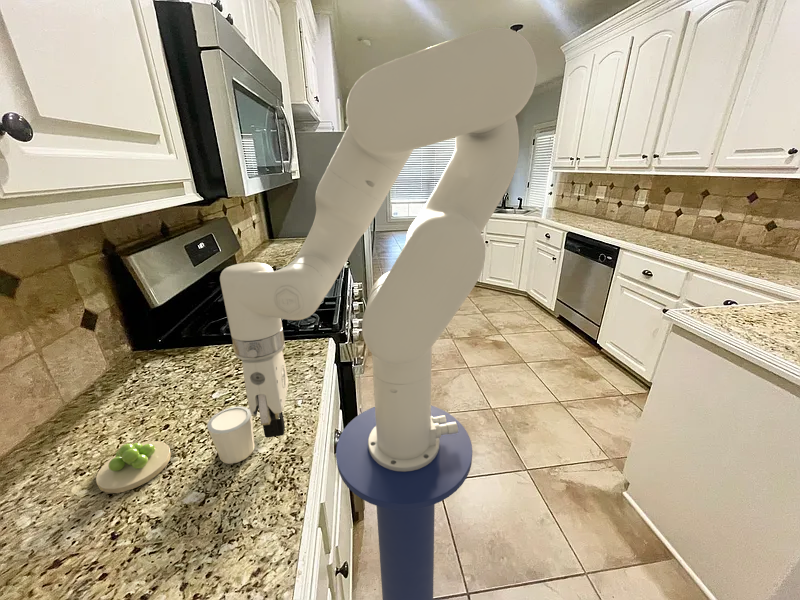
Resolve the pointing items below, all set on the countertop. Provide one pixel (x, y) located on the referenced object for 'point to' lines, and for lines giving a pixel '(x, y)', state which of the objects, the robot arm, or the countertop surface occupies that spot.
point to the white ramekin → (232, 434)
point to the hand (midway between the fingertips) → (275, 433)
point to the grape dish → (133, 474)
